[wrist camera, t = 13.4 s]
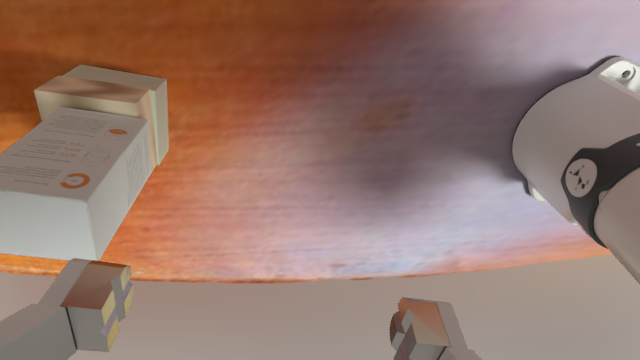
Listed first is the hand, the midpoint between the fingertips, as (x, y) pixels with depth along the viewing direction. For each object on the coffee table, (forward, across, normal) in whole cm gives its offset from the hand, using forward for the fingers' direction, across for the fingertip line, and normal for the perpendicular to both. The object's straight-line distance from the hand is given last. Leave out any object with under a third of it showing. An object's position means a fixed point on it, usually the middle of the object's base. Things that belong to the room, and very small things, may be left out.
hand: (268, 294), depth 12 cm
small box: (+27, +17, +12) cm, 34 cm away
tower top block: (+30, +18, +12) cm, 38 cm away
